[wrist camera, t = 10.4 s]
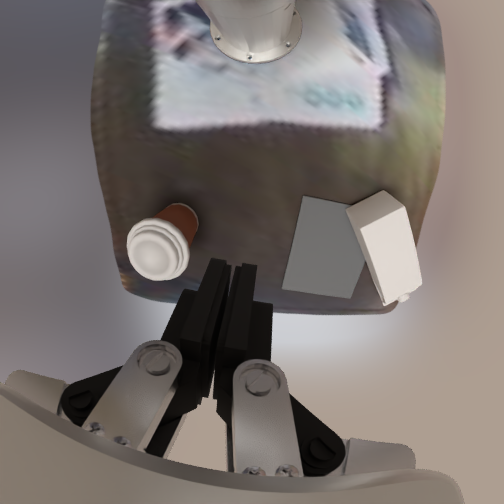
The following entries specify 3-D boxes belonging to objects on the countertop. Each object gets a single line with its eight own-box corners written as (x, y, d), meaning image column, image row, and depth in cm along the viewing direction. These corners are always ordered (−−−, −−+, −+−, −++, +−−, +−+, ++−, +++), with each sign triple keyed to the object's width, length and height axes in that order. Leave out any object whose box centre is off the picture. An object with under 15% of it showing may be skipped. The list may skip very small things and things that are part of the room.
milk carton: (383, 188, 37) (409, 277, 45) (344, 208, 39) (377, 293, 47) (404, 204, 31) (425, 300, 39) (359, 227, 33) (390, 319, 41)
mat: (302, 194, 39) (303, 195, 39) (380, 211, 39) (381, 212, 39) (281, 287, 48) (281, 288, 47) (349, 296, 48) (350, 298, 47)
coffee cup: (205, 250, 45) (184, 293, 35) (155, 241, 45) (124, 280, 35) (208, 198, 41) (185, 230, 30) (154, 192, 41) (117, 220, 31)
